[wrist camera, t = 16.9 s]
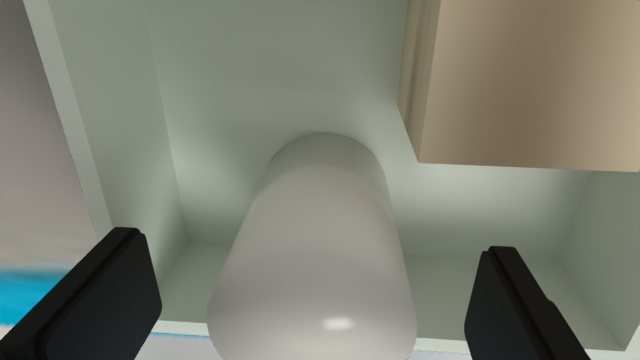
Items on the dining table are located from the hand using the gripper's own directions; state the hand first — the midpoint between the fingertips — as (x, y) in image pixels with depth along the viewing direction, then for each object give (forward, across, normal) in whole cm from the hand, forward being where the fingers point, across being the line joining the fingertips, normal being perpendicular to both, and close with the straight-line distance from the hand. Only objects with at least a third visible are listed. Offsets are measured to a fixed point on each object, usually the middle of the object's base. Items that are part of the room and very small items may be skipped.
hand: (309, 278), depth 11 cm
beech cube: (+5, -5, -6) cm, 9 cm away
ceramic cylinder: (+5, 0, 0) cm, 5 cm away
